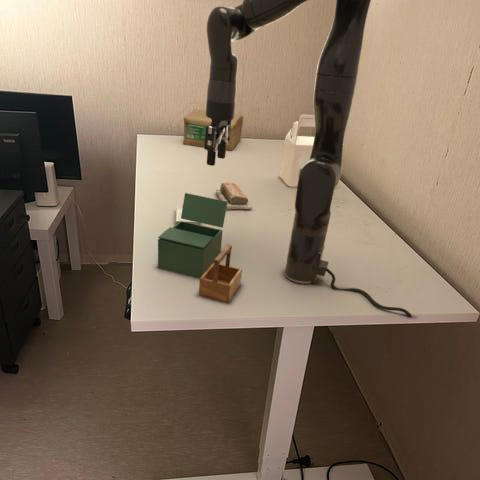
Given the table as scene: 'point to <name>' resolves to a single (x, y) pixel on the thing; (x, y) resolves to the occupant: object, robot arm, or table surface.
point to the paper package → (197, 129)
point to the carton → (189, 248)
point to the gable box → (296, 150)
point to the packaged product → (233, 196)
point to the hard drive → (178, 219)
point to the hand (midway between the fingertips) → (216, 161)
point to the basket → (220, 278)
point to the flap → (204, 210)
